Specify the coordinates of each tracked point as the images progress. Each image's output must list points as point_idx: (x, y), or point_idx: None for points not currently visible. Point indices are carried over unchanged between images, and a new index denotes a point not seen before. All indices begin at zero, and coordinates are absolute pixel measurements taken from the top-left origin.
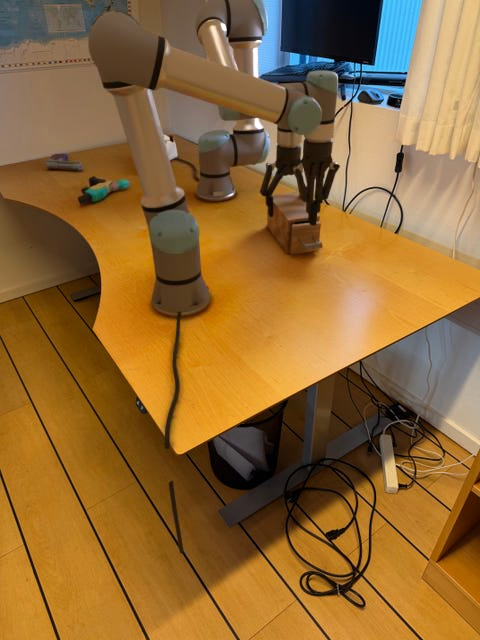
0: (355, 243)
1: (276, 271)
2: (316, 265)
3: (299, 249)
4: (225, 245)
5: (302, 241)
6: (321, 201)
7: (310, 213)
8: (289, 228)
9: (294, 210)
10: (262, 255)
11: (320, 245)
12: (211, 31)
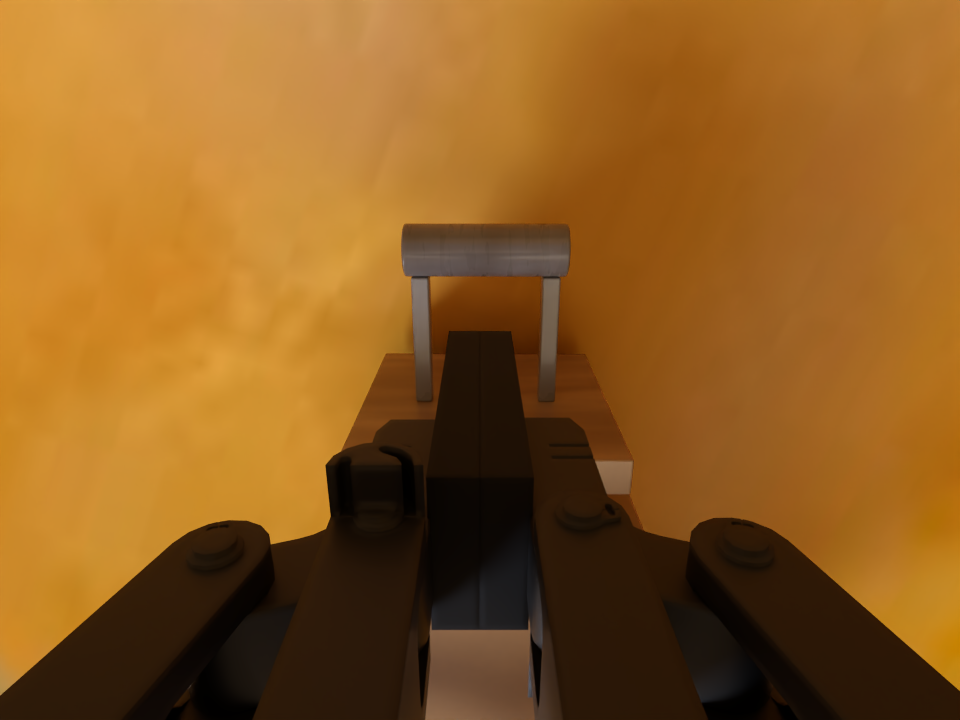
0: (98, 405)
1: (761, 188)
2: (459, 191)
3: (529, 364)
4: (897, 580)
5: (543, 343)
6: (359, 466)
7: (532, 421)
8: (617, 500)
9: (508, 705)
10: (747, 416)
11: (421, 228)
12: None
